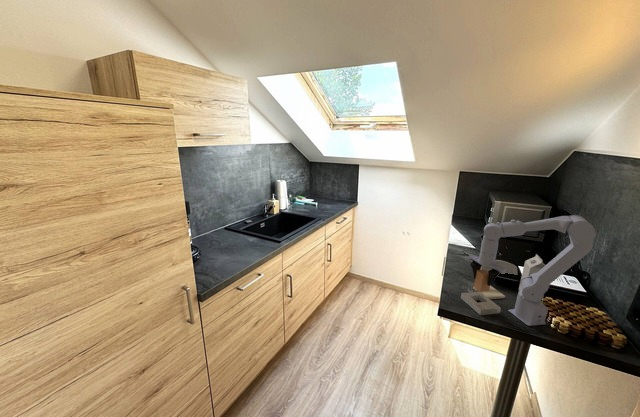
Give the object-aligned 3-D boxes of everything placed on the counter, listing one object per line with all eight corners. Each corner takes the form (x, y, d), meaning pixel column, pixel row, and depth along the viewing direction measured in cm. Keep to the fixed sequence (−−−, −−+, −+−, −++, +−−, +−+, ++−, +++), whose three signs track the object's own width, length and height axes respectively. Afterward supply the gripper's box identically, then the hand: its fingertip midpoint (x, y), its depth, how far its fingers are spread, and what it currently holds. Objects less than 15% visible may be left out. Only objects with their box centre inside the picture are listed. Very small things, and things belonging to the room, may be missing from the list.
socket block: (499, 313, 108) (501, 307, 107) (480, 315, 107) (481, 309, 106) (478, 296, 120) (479, 291, 119) (460, 297, 118) (461, 293, 118)
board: (504, 297, 119) (505, 295, 118) (486, 299, 117) (487, 297, 117) (489, 287, 127) (490, 285, 127) (472, 288, 126) (473, 286, 126)
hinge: (479, 276, 137) (482, 257, 138) (478, 275, 142) (480, 256, 142) (518, 284, 130) (520, 264, 131) (515, 282, 135) (518, 263, 135)
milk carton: (536, 292, 123) (546, 255, 118) (542, 301, 117) (552, 262, 112) (518, 289, 126) (526, 252, 121) (523, 297, 119) (532, 259, 114)
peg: (489, 291, 111) (492, 274, 109) (480, 291, 111) (483, 274, 109) (482, 286, 115) (485, 269, 113) (473, 286, 115) (476, 269, 113)
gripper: (512, 257, 104) (506, 287, 108) (477, 244, 117) (472, 272, 120) (502, 260, 101) (496, 291, 104) (467, 247, 113) (462, 275, 117)
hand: (482, 281), depth 112 cm, fingers closed on peg, 5 cm apart
